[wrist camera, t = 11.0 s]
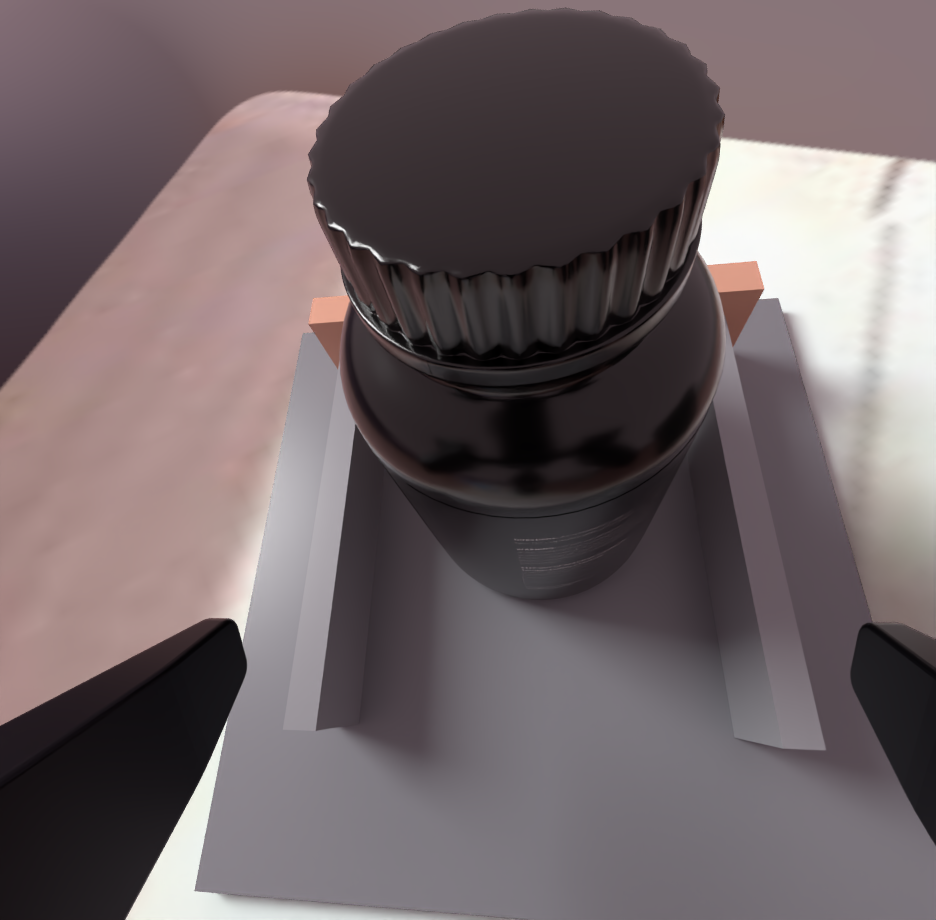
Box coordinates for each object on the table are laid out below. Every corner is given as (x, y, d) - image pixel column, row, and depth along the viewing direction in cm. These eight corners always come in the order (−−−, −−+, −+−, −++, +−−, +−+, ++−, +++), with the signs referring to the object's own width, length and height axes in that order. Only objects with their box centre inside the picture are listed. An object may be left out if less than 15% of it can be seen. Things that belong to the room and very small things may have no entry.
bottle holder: (950, 945, 11) (1179, 1088, 7) (208, 883, 14) (63, 963, 10) (771, 309, 19) (834, 201, 15) (308, 342, 21) (251, 257, 17)
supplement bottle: (656, 418, 17) (843, -60, 6) (633, 627, 14) (882, 430, 4) (458, 392, 19) (334, -28, 8) (406, 577, 16) (112, 334, 5)
